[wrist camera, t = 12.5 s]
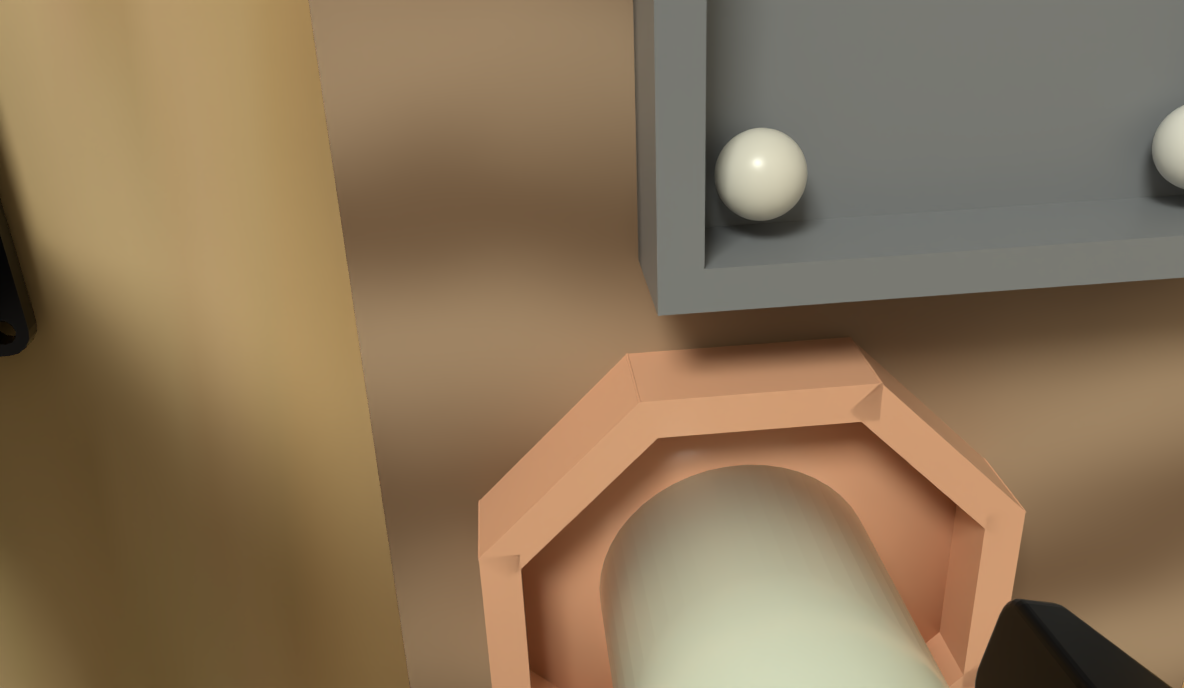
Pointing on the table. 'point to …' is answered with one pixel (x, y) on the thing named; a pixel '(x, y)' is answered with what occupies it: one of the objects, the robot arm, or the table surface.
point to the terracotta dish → (730, 438)
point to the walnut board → (682, 321)
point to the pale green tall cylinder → (755, 591)
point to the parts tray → (904, 148)
